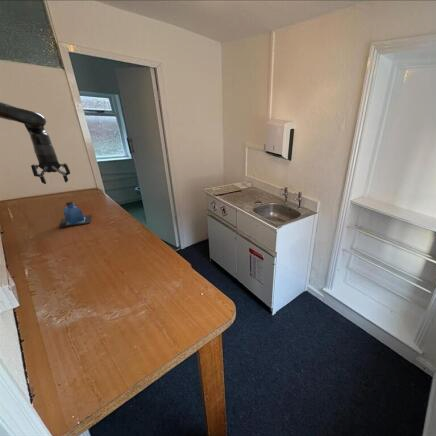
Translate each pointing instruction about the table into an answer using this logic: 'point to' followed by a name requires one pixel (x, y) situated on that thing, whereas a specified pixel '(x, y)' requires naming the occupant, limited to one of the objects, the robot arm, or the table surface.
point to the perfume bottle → (72, 213)
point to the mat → (67, 224)
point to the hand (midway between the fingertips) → (55, 182)
